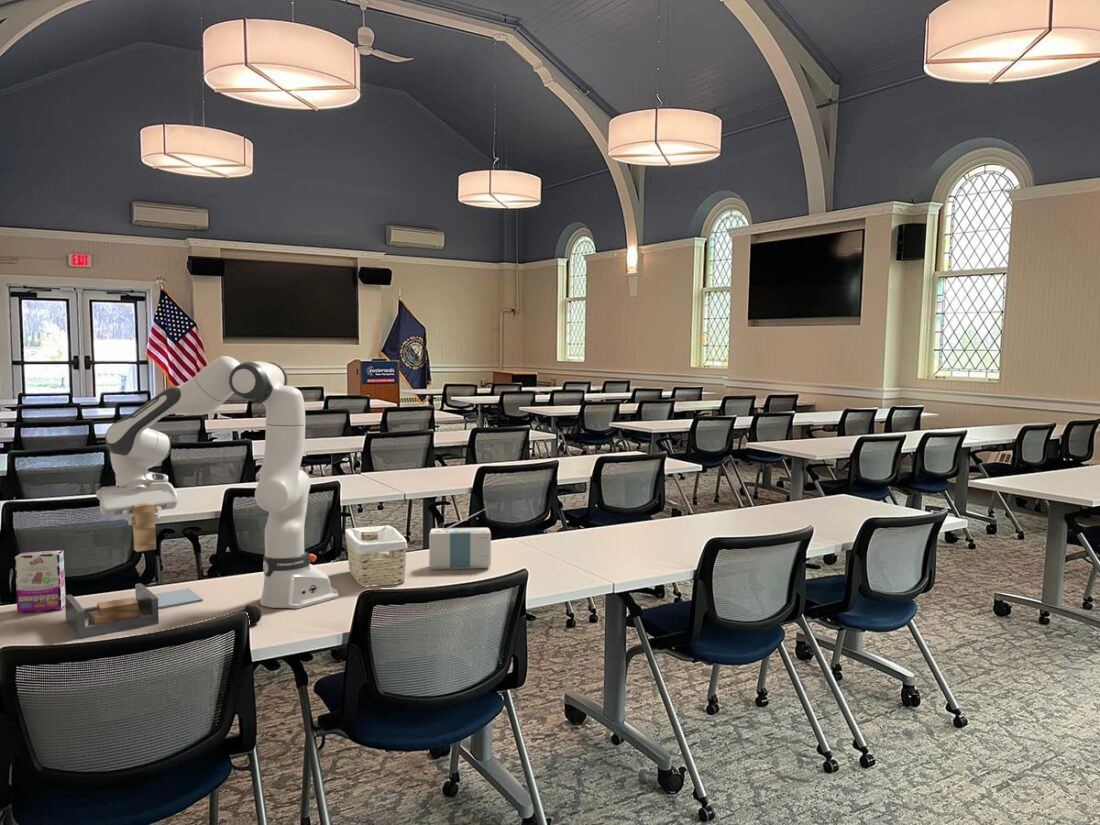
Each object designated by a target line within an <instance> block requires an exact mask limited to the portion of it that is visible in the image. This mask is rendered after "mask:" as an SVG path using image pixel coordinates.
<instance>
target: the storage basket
mask: <svg viewBox="0 0 1100 825" xmlns="http://www.w3.org/2000/svg"><path fill="white" fill-rule="evenodd" d="M344 531H345V534H344V536H345V537H344V538H345V541H346V546H347V548H346V549H347V560H348V562H347V563H348V569H349V571H350V573H351V575H352V578H354V579H355V581H356V582H357V584H358V585H360V586H363V587H362V588H367V587H366V586H371V587H372V585H384V586H390V584H392V585H394V584H393V583H400V584H403V583H405V579H406V573H405V572H406V564H407V560H406V559H407V557H406V556H407V549H408V544H407V543H408V542H407V540H406V538H405V537H404V536H403V535H402V534H401V533H400V532H399V531H398V530H397V529H396V528H394V527H393V526H390V525H381V526H380V525H379V526H378V525H377V526H366V527H365V526H363V527H355V528H346V529H345V530H344ZM374 535H377V538H378V539H373V540H363V539H362V537H363V536H374Z"/></svg>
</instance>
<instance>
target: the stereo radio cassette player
mask: <svg viewBox="0 0 1100 825" xmlns="http://www.w3.org/2000/svg"><path fill="white" fill-rule="evenodd" d="M483 511H486V508H483V509H481V510H480V511H478V512H476V513H473V514H472V515H470V516H468V517H466V518H464V519H461V520H459V521H457V522H456V523H454V524H452V525H449V526H448V527H446V528H445V527H444V528H443V527H442V528H441V527H440V528H439V527H438V528H431V529H430V532H429V534H428V539H429V543H428V545H429V548H428V549H429V550H428V551H429V553H428V556H429V558H428V559H429V561H428V562H429V568H430V569H431V570H433V569H435V570H453V569H454V570H459V569H462V570H463V569H485V570H486V569H488V568H489V567H491V565H492V558H491V557H492V553H491V552H492V550H491V549H492V532H491V530H490V528H489V527H455V526H456V525H459V524H460V523H463V522H464V521H467V520H469V519H471V518H472V517H474V516H476V515H477V514H479V513H481V512H483Z"/></svg>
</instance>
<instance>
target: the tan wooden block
mask: <svg viewBox="0 0 1100 825" xmlns="http://www.w3.org/2000/svg"><path fill="white" fill-rule="evenodd" d="M132 511H133V513H132V517H135V525H132V529H133V530H132V533H133V534H132V536H133V551H135V552H137V553H139V552H145V551H146V552H147V551H151V550H157V536H156V535H157V534H156V522H155V514H156V513H155V504H153V503H143V504H134V505H132Z"/></svg>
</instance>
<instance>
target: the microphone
mask: <svg viewBox="0 0 1100 825" xmlns="http://www.w3.org/2000/svg"><path fill="white" fill-rule="evenodd" d="M242 611H245V612H247V613H248V616H249V620H250V625H249V626H251V627H253V626H255V625H256V624H257V623H259V621H261V618H262V611H261V609H260V607H257V605H249V604H248V605H245V607H244V609H242Z"/></svg>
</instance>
